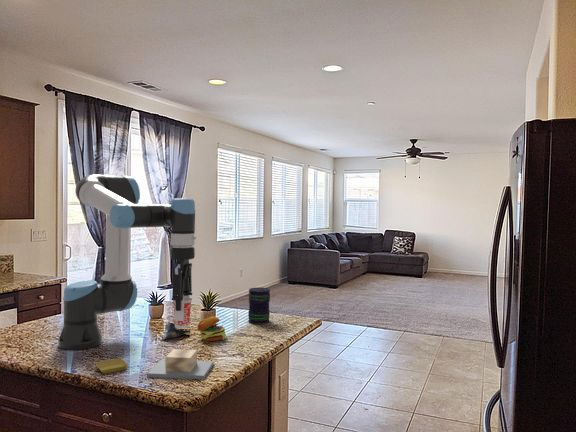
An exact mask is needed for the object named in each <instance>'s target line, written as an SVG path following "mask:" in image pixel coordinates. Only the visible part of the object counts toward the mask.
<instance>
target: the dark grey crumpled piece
mask: <svg viewBox="0 0 576 432" xmlns="http://www.w3.org/2000/svg"><path fill="white" fill-rule="evenodd" d="M164 329H165V330H166V332H165V333H164V335H163V337H162V338H161V340H162V341H165V339H171V338H177V337H180V336H183V335H184V334H186V333H189V334H190V333H191V332H192V331H191V330H189V329H185V330H184V329H178V328H175V323H173V322H168V323H167V324H166V325H165V327H164Z"/></svg>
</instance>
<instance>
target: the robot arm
mask: <svg viewBox="0 0 576 432" xmlns="http://www.w3.org/2000/svg"><path fill="white" fill-rule="evenodd" d="M140 191H141V190H140V186H139V184H138V182H137V180H136V179H135V178H134V177H132V176H129V175H122V174H121V175H116V174H96V173H94V174H89V175H86V176H84V177H82V178H81V179H80V180H79V181H78V182H77V184H76V186H75V192H74V193H75V196H76V198H77V200H78V201H79V202H81V203H82V204H83V205H85V206H87V207H94V208H96V209H97V210H98V211H99V212H101V213H103V214H104V215H106V216H105V217H106V218H105V219H106V220H105V257H104V258H105V260H104V262H105V263H104V264H105V266H104V274H103V275H102V276H101V277H100V282H99V283H98V282H97V281H96V280H90V279H89V280H82V281H76V282H73V283H70V284H68V285H67V286H66V287H64V290H63V297H62V300H63V325H62V326H63V327H62V329H61V332H60V335H59V338H58V344H57V346H58V348H59V349H62V350H68V351H70V350H71V351H74V350H76V351H77V350H79V351H80V350H87V349H90V348H91V349H92V348H94V347H97V346H99V345H101V344H102V342H103V337H102V333H101V329H100V327H99V324H98V315H102V314H108V313H114V312H123V311H125V310H129V309H132V308H133V307H134V305H135V304H136V301H137V297H138V287H137V284H136V282H135V281H134V280H132V276H131V275H130V274H129V244H130V243H129V239H130V229H132V228H135V229H136V228H170V246H172V247H170V259H171V260H176V261H175V265H174V267H172V269H171V270H172V295H171V301H173V300H175V318H174V317H173V319H174V322H175V321H184V300H183V297H188V298H191V296H192V295H193V292H192V287H193V286H192V284H193V283H192V267H193V263H192V262H190V260H193V259H195V255H196V253H195V249H196V248H195V247H194V246H195V243H196V242H195V240H196V239H197V237H196V235H195V231H196V207H195V206H196V204H195V203H196V202H195V200H194V199H192V198H172V200H171V201H170V204H166V203H159V204H158V203H157V204H154V203H151V204H149V203H148V204H146V203H143V204H141V203H139V202H140V197H141V192H140Z"/></svg>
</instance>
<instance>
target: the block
mask: <svg viewBox="0 0 576 432" xmlns="http://www.w3.org/2000/svg"><path fill="white" fill-rule="evenodd" d="M164 360H165V371H175V372H191V371H192V369H193V368H194V367H195V365H196V364H197V361H198V349H183V348H182V349H179V348H176V349H175V348H173V349H172V350H170V352H169V353H168V354H167V355H166V356H165V359H164Z"/></svg>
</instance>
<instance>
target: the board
mask: <svg viewBox="0 0 576 432" xmlns="http://www.w3.org/2000/svg"><path fill="white" fill-rule="evenodd" d="M165 360H166V359H160V360H159V361H158V362H157V363H155V365H154V366H153V367H152V368H151V369H150V370H149V371H147V373H146V378H158V379H159V378H160V379H180V380H181V379H182V380H184V379H186V380H205V378H206V377H207V376H208V375H209V374H208V373H210V372H211V370H212V368H213V367H214V361H213V360H212V361H210V360H208V361H207V360H197V364H196V365H195V367H194V368H193V369H192V371H191V372H175V371H165Z"/></svg>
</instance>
